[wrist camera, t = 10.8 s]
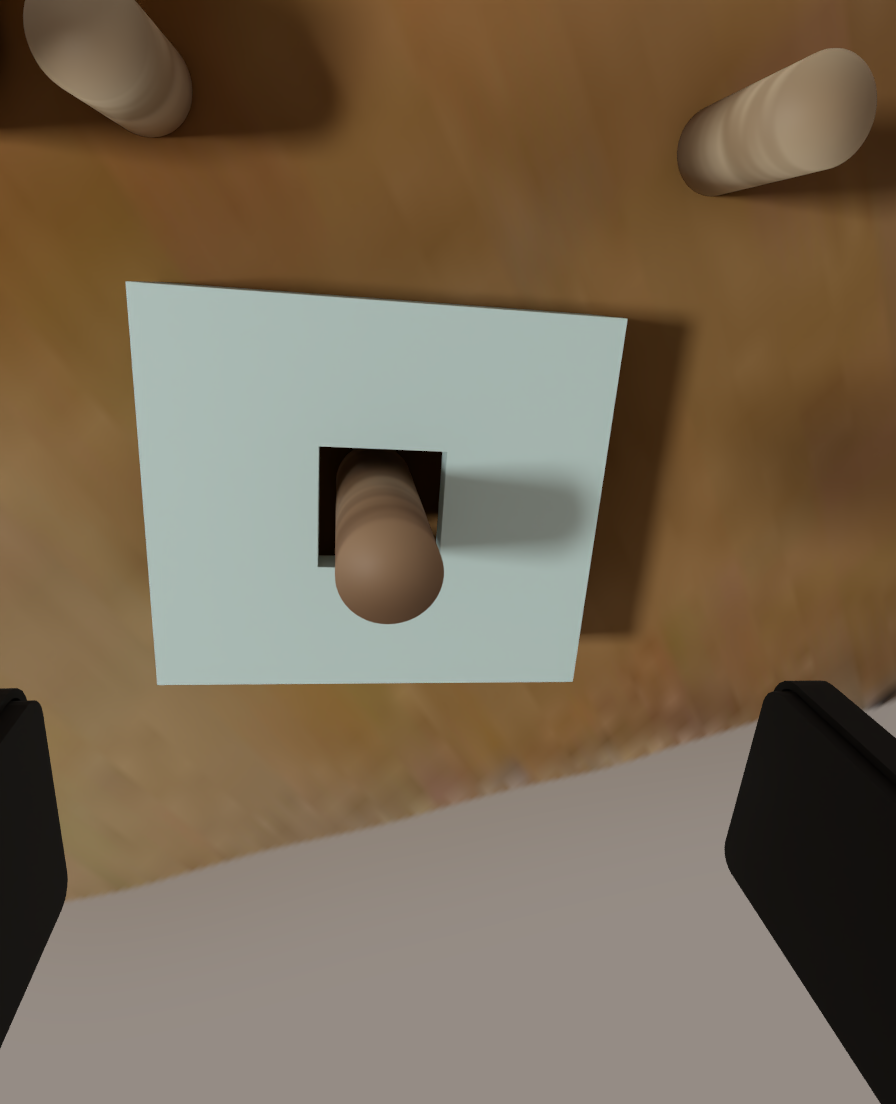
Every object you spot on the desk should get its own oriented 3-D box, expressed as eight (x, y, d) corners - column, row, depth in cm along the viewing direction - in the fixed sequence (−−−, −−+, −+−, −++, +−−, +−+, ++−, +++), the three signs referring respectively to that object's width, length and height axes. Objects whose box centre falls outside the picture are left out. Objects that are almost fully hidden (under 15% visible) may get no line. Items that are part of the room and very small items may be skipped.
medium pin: (685, 99, 25) (791, 41, 19) (762, 109, 26) (889, 55, 20) (670, 192, 26) (766, 164, 20) (744, 199, 27) (860, 175, 21)
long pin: (337, 442, 28) (336, 521, 19) (412, 445, 28) (448, 525, 19) (335, 514, 29) (333, 624, 20) (408, 517, 29) (439, 624, 20)
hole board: (158, 281, 25) (125, 281, 21) (589, 314, 28) (627, 319, 24) (180, 635, 30) (157, 685, 26) (546, 636, 32) (572, 681, 29)
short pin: (82, 39, 22) (4, -27, 18) (175, 21, 22) (121, -50, 18) (115, 145, 24) (49, 109, 19) (204, 127, 24) (161, 86, 19)
